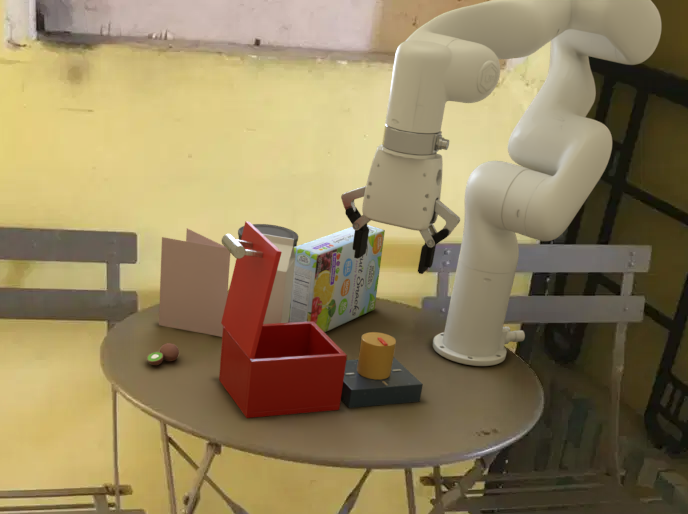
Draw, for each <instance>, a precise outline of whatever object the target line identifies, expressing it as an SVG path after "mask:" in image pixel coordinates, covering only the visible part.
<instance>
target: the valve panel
mask: <svg viewBox="0 0 688 514" xmlns="http://www.w3.org/2000/svg"><path fill="white" fill-rule="evenodd" d="M357 365H358V358H356V359H346V366H345V373H344V380H343V387H342V394H341V402H343V403H344V404H345V405H346V406H347V407H348V409H352V408H363V407H364V408H365V407H373V406H374V407H375V406H384V405H385V406H386V405H396V404H397V405H398V404H408V403H419V402H421V397H422V391H423V386H424V384H423V382H421V381H420V380H419V378H417V376H415V375H414V374H413V373H412V372H411V371H409V370H408V368H406V367H405V365H403V364H402V363H401V362H400V361H399V360H398V359H397V358H396V357H395V356H394V357H393V363H392V368H391V374H390V376H389V377H388V378H386V379H381V380H376V379H369V378H366V377H363V376H361V375H360V374H359V373H358V372H357Z"/></svg>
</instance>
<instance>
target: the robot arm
mask: <svg viewBox="0 0 688 514" xmlns="http://www.w3.org/2000/svg"><path fill="white" fill-rule="evenodd" d="M661 34H662V18H661V14H660V11H659V9H658V8H657V6H656V4H655V3H654V2H653V1H652V0H486V1H483V2H479V3H475V4H471V5H467V6H462V7H458V8H455V9H451V10H448V11H446V12H445V11H444V12H443V13H440V14H439V15H437V16H435V17H433V18H432V19H430V20H429V21H427V22H426V23H424V24H422V25H421V26H419V27H418V28H417V29H415V30H414V31H413V32H412V33H411V34H410V35H409V36H408V37H407V38H406V39H405V41H402V42H401V43H400V44H399V45H397V49H396V51H395V55H394V59H393V60H394V61H393V68H392V73H391V74H392V76H391V81H390V88H389V94H388V101H387V102H388V103H387V107H386V108H387V109H386V116H385V123H384V130H383V135H382V136H383V137H382V142H381V144H379V145H378V146H376V150H375V152H374V155H373V159H372V162H371V165H370V169H369V173H368V175H367V179H366V185H364V186H361V187H358V188H355V189H352V190H348V191H345V192H344V193H342V194H341V196H340V199H341V202H342V205H343V208H344V210H345V215H346V217H347V219H348V220H349V222H350V223H351V224H352V225H351V227H353V229H354V230H355V234H354V241H353V250H355V255H354V258H357V259H358V258H360V257H362V256H363V255H364V254H365V253H366V248H367V241H368V235H369V228H368V227H367V225H368V223H370V222H371V221H373V222H376V223H380V224H385V225H388V226H392V227H393V226H394V227H397V228H402V229H406V230H411V231H418V232H419V233H420V235H421V237H422V238H423V241H424V244H423V245H422V246H421V249H420V255H419V260H418V261H419V262H418V267H417V273H418V274H420V275H423V274H424V273H425V272H427V271H428V269H431V268H432V266H433V263H434V257H435V252H436V247H437V244H439V243H441V242H442V241H443V240H446V239H447V238H448V237H449V236H451V234H452V232H454V230H455V228H456V227H457V226H458V225H459V224H460V222H461V218H460V216H459V215H457V214H456V213H455V212H454V211H453V210H452V209H450V208H449V207H448V206H447V205H446V204H444V203H443V202H442V201H441V193H442V186H443V185H442V184H443V164H444V163H443V155H442V154H440V153H438V152H439V151H442V150H444V151H447V150H448V149H449V146H450V139H447V138H445V137H443V135H442V133H443V131H442V125H443V119H444V113H445V109H446V104H447V102H456V103H462V104H474V103H475V104H476V103H478V102H481V101H484V100H485V99H486V98H487V97H489V96H490V95H491V94H492V93H493V92H494V90H495V89H496V88H497V85H498V83H499V81H500V76H501V64H500V63H501V62H500V60H511V59H512V60H513V59H520V58H525V57H528V56H531V55H533V54H534V53H536V52H537V51H539V50H540V49H542V48H543V47H545V46H546V45H547V44H548V43H549V42H550V50H549V51H550V52H549V67H548V71H547V75H546V78H545V80H544V81H543V84H542V85H541V87H540V89H539V90H538V91H537V93H536V95H535V96H534V98H533V99H532V101H531V102H530V104H528V106H527V108H526V110H525V111H524V113H522V115H521V117H520V118H519V120H518V122H517V124H516V125H515V126H514V128H513V130H512V132H511V133H510V136H509V138H508V141H507V153H508V156H509V158H510V159H511V161H513V162H514V163H515V164H514V163H511V162H507V161H503V160H488V161H485V162H483V163H481V164H479V165H477V166H476V167H475V168H474V169H473V171H471V173H470V175H469V176H468V178H467V180H466V181H467V182H466V185H465V190H464V216H463V217H464V218H463V220H464V221H463V231H462V236H461V237H462V238H461V244H460V248H459V250H460V251H459V254H458V260H457V264H456V269H455V270H456V271H455V275H454V281H453V284H452V285H453V286H452V292H451V295H450V301H449V305H448V312H447V315H446V321H445V326H444V331H443V332H440V333H438V334H436V335H435V336H434V337H433V339H432V348H433V350H434V351H435V353H437V354H438V355H440V356H441V357H443V358H445V359H447V360H449V361H452V362H455V363H458V364H463V365H465V366H466V365H468V366H473V367H474V366H475V367H489V366H496V365H498V364H501V363H503V362H504V361H505V360H506V357H507V348H506V347H505V345H508V344H509V343H518V342H524V340H525V338H526V334H525V331H524V330H522V329H521V330H512V331H511V327H510V326H504V325H505V322H506V321H505V320H506V316H507V312H508V307H509V304H510V303H509V302H510V299H511V298H510V297H511V294H512V289H513V285H514V281H515V277H516V272H517V269H518V264H519V256H520V251H519V250H520V249H519V243H518V238H517V234H518V235H521V236H524V237H528V238H530V239H534V240H537V241H541V242H551V241H554V240H556V239H557V238H559V237H561V236H562V235H563V234H564V233H565V231H566V230H567V229H568V227H569V226H570V224H571V223H572V222H573V220H574V219H575V217H576V216H577V214H578V213H579V211H580V209H582V206H583V205H584V204H585V202H586V200H587V199H588V197H590V195H591V193H592V191H593V190H594V188H595V187H596V185H597V184H598V182H599V181H600V180H601V177H602V176H603V174H604V172H605V170H606V168H607V166H608V163H609V161H610V158H611V154H612V150H613V137H612V134H611V133H612V132H611V131H610V129H609V128H608V127H607V126H606V125H605V123H603V122H601V121H598V120H596V119H593V118H590V117H587V115H588V113H590V111H591V109H592V107H593V106H594V103H595V101H596V96H597V95H596V94H597V93H596V92H597V90H596V89H597V88H596V83H595V78H594V75H593V72H592V69H591V65H590V59H589V58H591V57H592V58H595V59H600V60H604V61H608V62H613V63H617V64H622V65H629V66H635V65H639V64H642V63H643V62H645V61H647V60H648V59H649V58H650V57H651V56H652V55H653V53H654V52H655V51H656V48H657V47H658V45H659V43H660V39H661ZM360 198H361V199H362V198H363V201H362V208H361V209H362V210H361V211H362V214H361V212H360V210H358V208H357V207H356V204H355V200H357V199H360ZM438 216H439V217H440V218H442V219H443V220H444V221H445V224H444V226H443V227H442V229H440V230H439V231H437V229H436V227H435V225H434V224H436V221H437V219H438Z"/></svg>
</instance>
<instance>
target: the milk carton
mask: <svg viewBox="0 0 688 514" xmlns="http://www.w3.org/2000/svg"><path fill="white" fill-rule="evenodd" d="M263 235H264V236H265V237H266V238H267V239H268V240H269V241H270V242H272V243H273V244H274V245H275V246H276V247H277V248H278V249H279V250H280V251H281V252H282V253H281V257H280V261H279V264H278V268H277V272H276V276H275V280H274V284H273V288H272V291H271V295H270V299H269V303H268V307H267V311H266V315H265V318H264V322H263V324H272V323H288V321H289V312H290V303H291V294H292V285H293V275H294V266H295V253H294V248H293V243H294V239H290V238H284V237H278V236H272V235H266V234H263Z"/></svg>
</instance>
